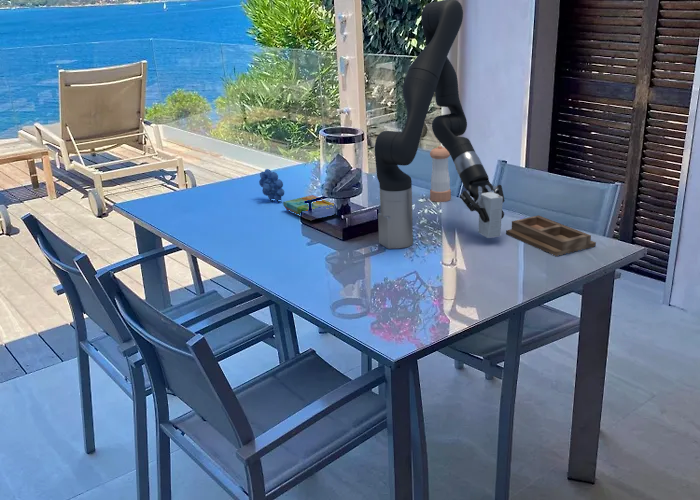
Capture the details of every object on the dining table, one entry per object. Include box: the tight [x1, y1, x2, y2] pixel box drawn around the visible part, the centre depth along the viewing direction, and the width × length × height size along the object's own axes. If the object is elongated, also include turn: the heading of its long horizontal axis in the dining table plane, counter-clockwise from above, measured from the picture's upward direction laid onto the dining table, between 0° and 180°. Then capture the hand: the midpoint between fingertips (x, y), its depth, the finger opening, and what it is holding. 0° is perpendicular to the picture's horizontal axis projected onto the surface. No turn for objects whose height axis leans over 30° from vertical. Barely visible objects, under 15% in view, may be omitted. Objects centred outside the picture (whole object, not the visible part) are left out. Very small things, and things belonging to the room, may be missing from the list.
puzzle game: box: [282, 194, 335, 215], centre depth 234 cm, size 12×5×20 cm
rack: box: [505, 215, 597, 257], centre depth 198 cm, size 14×22×4 cm, turn 25°
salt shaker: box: [429, 145, 452, 203], centre depth 240 cm, size 7×7×19 cm
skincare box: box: [477, 191, 504, 239], centre depth 198 cm, size 6×4×12 cm
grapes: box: [258, 168, 285, 201], centre depth 250 cm, size 12×7×12 cm, turn 53°
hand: (494, 219), depth 197 cm, fingers closed on skincare box, 4 cm apart
